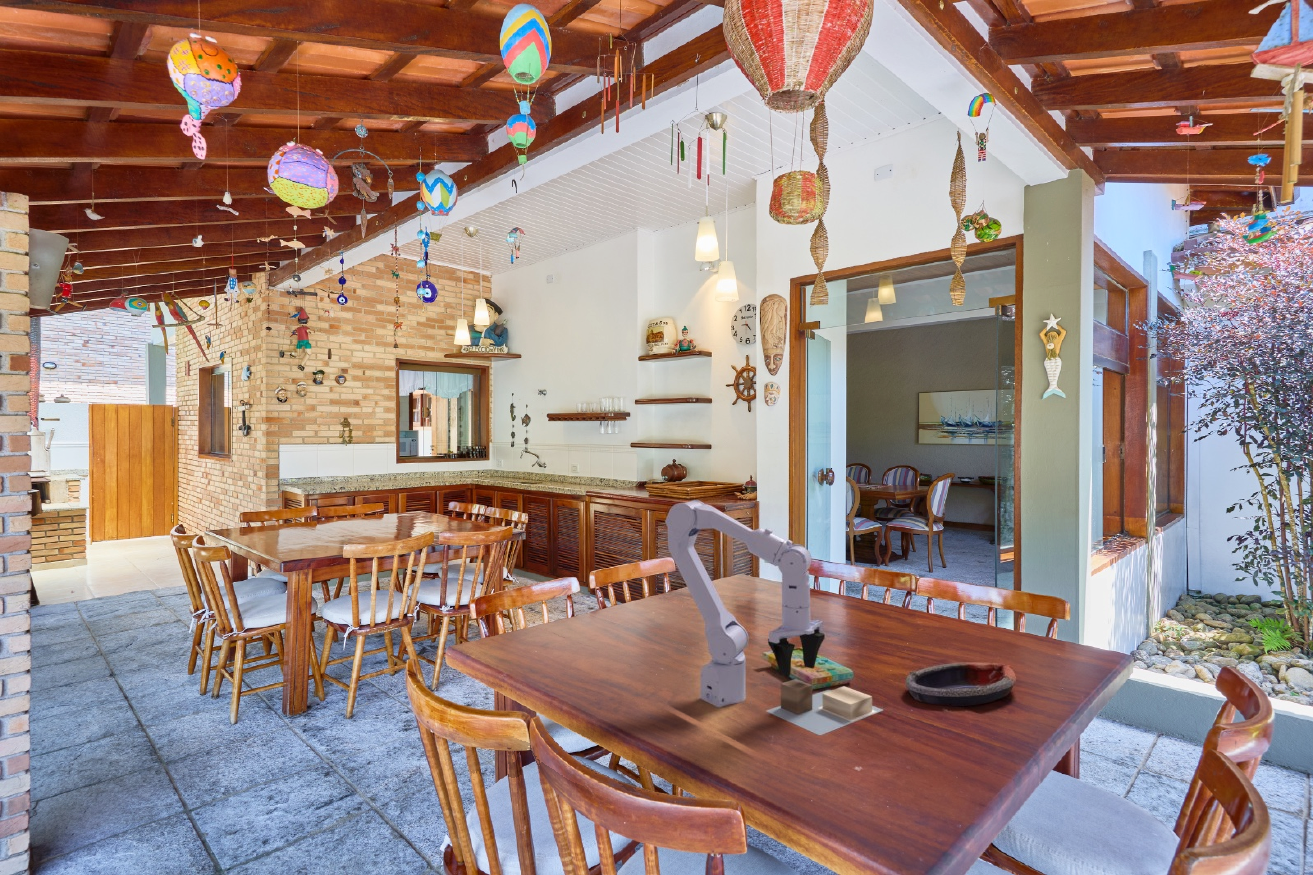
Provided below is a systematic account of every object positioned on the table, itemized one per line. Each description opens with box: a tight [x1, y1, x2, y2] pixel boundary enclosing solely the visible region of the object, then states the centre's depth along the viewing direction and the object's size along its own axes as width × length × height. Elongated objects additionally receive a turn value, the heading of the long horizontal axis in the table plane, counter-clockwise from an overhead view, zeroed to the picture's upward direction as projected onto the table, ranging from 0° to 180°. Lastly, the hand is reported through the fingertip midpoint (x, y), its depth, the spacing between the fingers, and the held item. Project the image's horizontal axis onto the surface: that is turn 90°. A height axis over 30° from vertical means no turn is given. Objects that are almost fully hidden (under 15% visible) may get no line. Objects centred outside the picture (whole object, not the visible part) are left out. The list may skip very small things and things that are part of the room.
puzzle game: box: [761, 646, 855, 690], centre depth 156 cm, size 12×5×20 cm
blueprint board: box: [765, 689, 884, 736], centre depth 134 cm, size 20×14×1 cm
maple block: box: [822, 686, 873, 720], centre depth 135 cm, size 7×7×3 cm
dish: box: [904, 662, 1017, 707], centre depth 146 cm, size 16×31×5 cm, turn 113°
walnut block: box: [780, 679, 813, 715], centre depth 135 cm, size 4×4×5 cm
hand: (797, 671), depth 135 cm, fingers open, 7 cm apart
